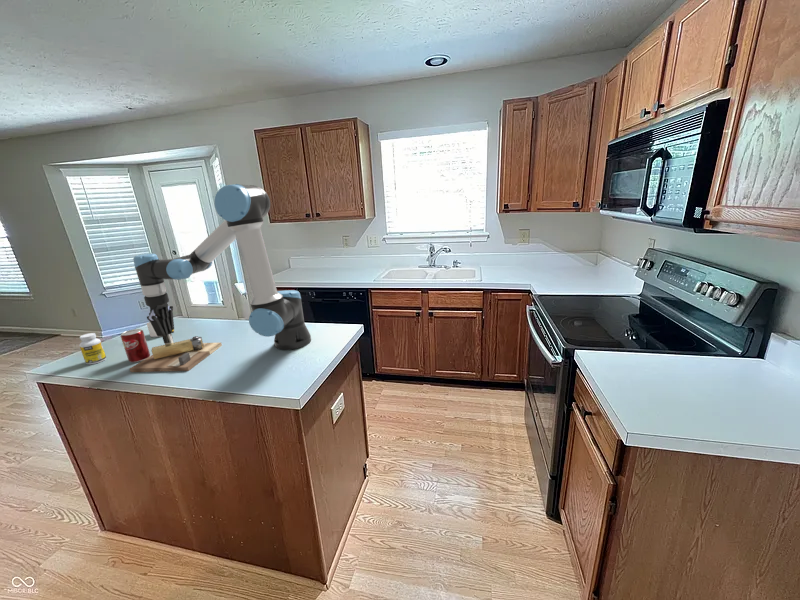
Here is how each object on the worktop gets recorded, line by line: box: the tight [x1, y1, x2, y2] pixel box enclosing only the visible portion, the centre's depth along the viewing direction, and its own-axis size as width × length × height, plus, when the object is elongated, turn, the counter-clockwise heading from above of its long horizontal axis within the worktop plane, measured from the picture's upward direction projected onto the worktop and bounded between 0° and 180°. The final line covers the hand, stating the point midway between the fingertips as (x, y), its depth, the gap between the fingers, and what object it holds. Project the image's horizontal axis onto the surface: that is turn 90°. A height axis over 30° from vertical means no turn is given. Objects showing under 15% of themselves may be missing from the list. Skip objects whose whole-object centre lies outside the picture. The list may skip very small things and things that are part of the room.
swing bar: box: [151, 336, 204, 359], centre depth 135 cm, size 17×4×5 cm, turn 122°
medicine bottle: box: [146, 312, 175, 338], centre depth 161 cm, size 7×7×12 cm
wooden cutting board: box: [129, 342, 223, 373], centre depth 135 cm, size 23×22×4 cm
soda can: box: [120, 328, 151, 364], centre depth 135 cm, size 7×7×12 cm
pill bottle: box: [79, 332, 107, 365], centre depth 135 cm, size 6×6×12 cm
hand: (170, 349), depth 136 cm, fingers closed
